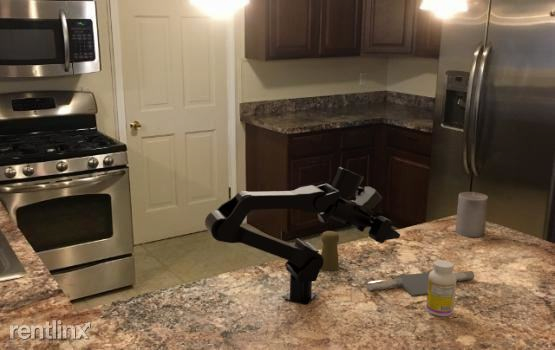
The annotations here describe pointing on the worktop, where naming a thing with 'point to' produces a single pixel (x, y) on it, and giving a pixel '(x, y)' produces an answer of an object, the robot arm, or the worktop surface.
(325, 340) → the worktop surface
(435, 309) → the supplement bottle
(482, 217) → the pillar candle
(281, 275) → the worktop surface
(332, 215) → the robot arm
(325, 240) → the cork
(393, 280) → the steel shafts
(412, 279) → the rubber pad
